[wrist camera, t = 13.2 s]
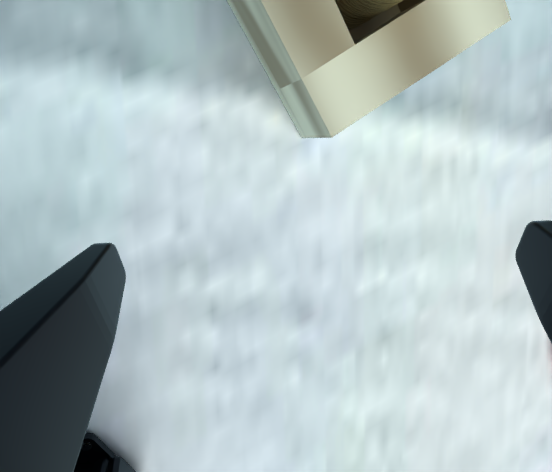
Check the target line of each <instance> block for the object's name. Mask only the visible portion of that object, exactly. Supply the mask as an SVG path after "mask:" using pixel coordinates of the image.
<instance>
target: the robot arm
mask: <svg viewBox="0 0 552 472" xmlns="http://www.w3.org/2000/svg"><path fill="white" fill-rule="evenodd" d="M516 261H517V264H518V267H519V269H520V272H521V274H522V277H523V279H524V282H525V285H526V287H527V290H528V292H529V295H530V297H531V300H532V302H533V305H534V307H535V310H536V312H537V315H538V317H539V319H540V321H541V323H542V325H543V327H544V329H545V331H546V333H547V335H548V337H549V339H550V341H551V343H552V221H532V222H530V223H529V224H528V225H527V226H526V228H525V230H524V233H523V235H522V237H521V240H520V242H519V245H518V247H517V250H516ZM125 280H126V274H125V269H124V267H123V264H122V261H121V259H120V256H119V254H118V251H117V249H116V247H115V245H114V244H112V243H97V244H93V245H91V246H90V247H88V248H87V249H86V250H84V251H83V252H81V253H80V254H79V255H77V256H76V257H74V258H73V259H72V260H70V261H69V262H68V263H66V264H65V265H63V266H62V267H61V268H59V269H58V270H56V271H55V272H54V273H52V274H51V275H50V276H48V277H47V278H45V279H44V280H43V281H41V282H40V283H38V284H37V285H36V286H34V287H33V288H32V289H30V290H29V291H27V292H26V293H25V294H23V295H22V296H20V297H19V298H18V299H16V300H15V301H14V302H12V303H11V304H9V305H8V306H7V307H5V308H4V309H2V310H1V311H0V472H136V471H135V470H134V469H133V468H132V467H131V466H130V465H129V464H128V463H127V462H126V461H125V460H124V459H123V458H121V457H118V456H116V455H115V454H114V453H113V452H112V451H111V450H110V449H109V448H108V447H107V446H106V445H105V444H104V443H103V442H102V441H101V440H100V439H99V438H98V437H97V436H96V435H94V434H92V433H86V430H87V427H88V424H89V420H90V417H91V414H92V411H93V408H94V404H95V401H96V398H97V395H98V392H99V388H100V385H101V382H102V379H103V375H104V372H105V369H106V366H107V363H108V359H109V356H110V353H111V350H112V346H113V343H114V339H115V334H116V329H117V324H118V318H119V313H120V308H121V302H122V297H123V291H124V286H125ZM85 433H86V434H85ZM85 442H89V443H90V444H91V445H84V444H83V443H85Z"/></svg>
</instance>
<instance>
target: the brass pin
mask: <svg viewBox="0 0 552 472" xmlns="http://www.w3.org/2000/svg"><path fill="white" fill-rule="evenodd" d="M401 1H403V0H335V2H336V4H337V7H338V9H339V11H340V13H341V15H342V17H343V20H344V22H345V24H346V26H347V28H348V30H352V29H355V28H357V27H359V26H361V25H362V24H364V23H366V22H367V21H369V20H371V19H372V18H374V17H376V16H378V15H379V14H381V13H383V12H384V11H386V10H388V9H389V8H391V7H393V6H395V5H396V4H398V3H400V2H401Z"/></svg>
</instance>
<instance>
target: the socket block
mask: <svg viewBox="0 0 552 472" xmlns="http://www.w3.org/2000/svg"><path fill="white" fill-rule="evenodd" d="M227 2H228V4H229V6H230V7H231V9H232V11H233V13H234V15H235V17H236V18H237V20H238V22H239V24H240V26H241V28H242V29H243V31H244V33H245V35H246V37H247V39H248V40H249V42H250V44H251V46H252V48H253V50H254V51H255V53H256V55H257V57H258V59H259V61H260V62H261V64H262V66H263V68H264V70H265V72H266V73H267V75H268V77H269V79H270V81H271V83H272V84H273V86H274V88H275V90H276V92H277V94H278V95H279V97H280V99H281V101H282V103H283V104H284V106H285V108H286V110H287V112H288V114H289V115H290V117H291V119H292V121H293V123H294V125H295V126H296V128H297V130H298V132H299V134H300V136H301V137H302V138H329V137H333V136H335V135H336V134H338V133H339V132H341V131H342V130H344V129H345V128H347V127H349V126H350V125H352V124H353V123H355V122H356V121H358V120H359V119H361V118H362V117H364V116H365V115H367V114H368V113H370V112H371V111H373V110H374V109H376V108H377V107H379V106H381V105H382V104H384V103H385V102H387V101H388V100H390V99H391V98H393V97H394V96H396V95H397V94H399V93H400V92H402V91H403V90H405V89H406V88H408V87H409V86H411V85H412V84H414V83H416V82H417V81H419V80H420V79H422V78H423V77H425V76H426V75H428V74H429V73H431V72H432V71H434V70H435V69H437V68H438V67H440V66H441V65H443V64H444V63H446V62H447V61H449V60H451V59H452V58H454V57H455V56H457V55H458V54H460V53H461V52H463V51H464V50H466V49H467V48H469V47H470V46H472V45H473V44H475V43H476V42H478V41H479V40H481V39H483V38H484V37H486V36H487V35H489V34H490V33H492V32H493V31H495V30H496V29H498V28H499V27H501V26H502V25H504V24H505V23H507V22H508V21H510V20H511V18H510V14H509V11H508V8H507V5H506V2H505V0H403V1H401V2H400V3H398V4H396V5H395V6H393V7H391V8H389V9H388V10H386V11H384V12H383V13H381V14H379V15H378V16H376V17H374V18H372V19H371V20H369V21H367V22H366V23H364V24H362V25H361V26H359V27H357V28H355V29H352V30H348V28H347V26H346V24H345V22H344V20H343V17H342V15H341V13H340V11H339V9H338V7H337V4H336V2H335V0H227Z"/></svg>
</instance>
